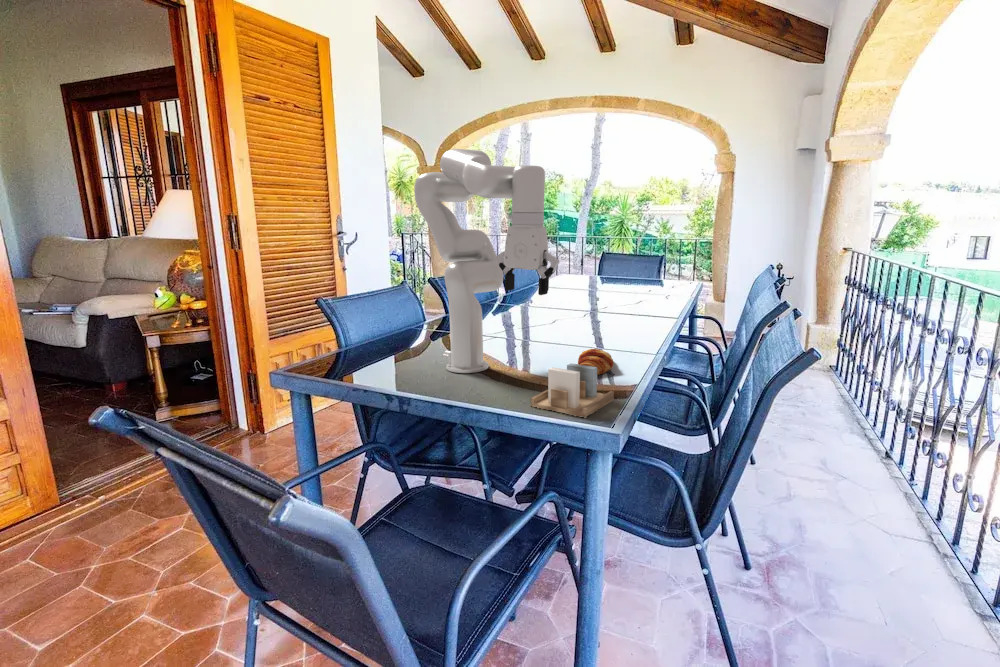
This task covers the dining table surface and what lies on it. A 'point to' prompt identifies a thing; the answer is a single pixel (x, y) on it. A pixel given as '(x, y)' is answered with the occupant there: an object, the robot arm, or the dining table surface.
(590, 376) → the dish rack
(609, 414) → the dining table surface
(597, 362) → the croissant
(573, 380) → the low beige gift box
